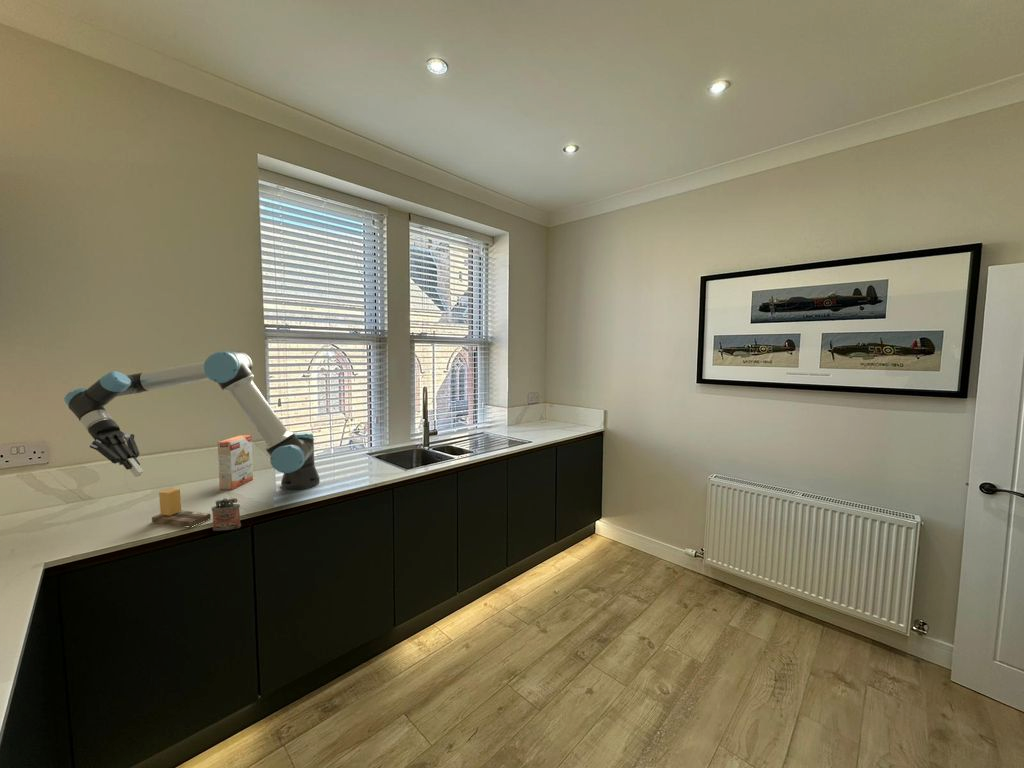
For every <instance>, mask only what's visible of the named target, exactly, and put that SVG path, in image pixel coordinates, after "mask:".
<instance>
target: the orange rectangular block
mask: <svg viewBox="0 0 1024 768" xmlns="http://www.w3.org/2000/svg"><path fill="white" fill-rule="evenodd" d="M158 494H159V509H160V510H159V511H160V514H161V515H168V516H170V515H173V514H175V513H178V512H181V510H182V500H181V489H180V488H179V489H178V488H168V489H165V490H161V491H159V492H158Z"/></svg>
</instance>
